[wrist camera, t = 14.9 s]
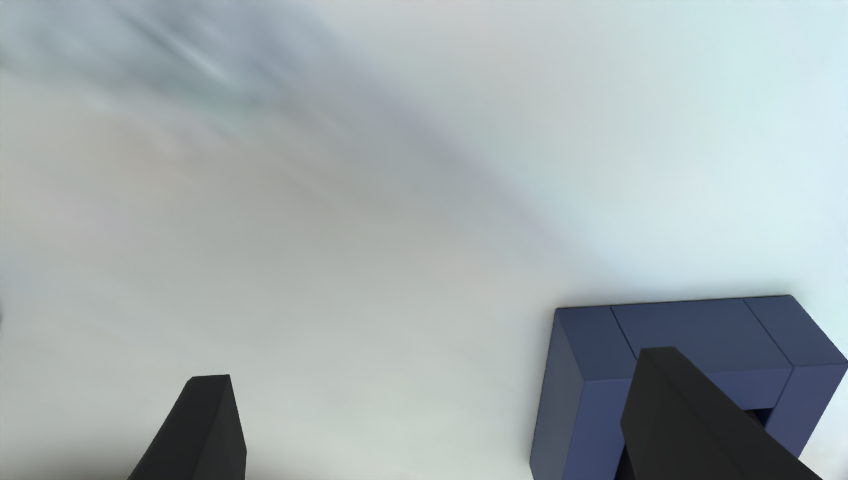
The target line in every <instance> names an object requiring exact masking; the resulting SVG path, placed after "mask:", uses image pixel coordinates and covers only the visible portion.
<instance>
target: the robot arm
mask: <svg viewBox="0 0 848 480" xmlns="http://www.w3.org/2000/svg"><path fill="white" fill-rule="evenodd" d="M620 426H621V430H622V433H623V437H624V440H625V444H626V447H627V451H628V454H629V458H630V461H631V464H632V467H633V470H634V474H635V477H636V479H637V480H823V479H822V478H820V477H819V476H818V475H817V474H815V473H814V472H813V471H812V470H811V469H809V468H808V467H807V466H806V465H804V464H803V463H802V462H801V461H800V460H798V459H797V458H796V457H795V456H794V455H793V454H791V453H790V452H789V451H788V450H787V449H786V448H784V447H783V446H782V445H781V444H780V443H779V442H777V441H776V440H775V439H774V438H773V437H772V436H771V435H769V434H768V433H767V432H766V431H765V430H764V429H763V428H762V427H761V426H759V425H758V424H757V423H756V422H755V421H754V420H753V419H752V418H751V417H749V416H748V415H747V414H746V413H745V412H744V411H743V410H742V409H741V408H740V407H739V406H738V405H736V404H735V403H734V402H733V401H732V400H731V399H730V398H729V397H728V396H727V395H726V394H725V393H724V392H723V391H721V390H720V389H719V388H718V387H717V386H716V385H715V384H714V383H713V382H712V381H711V380H710V379H709V378H708V377H707V376H706V375H705V374H703V373H702V372H701V371H700V370H699V369H698V368H697V367H696V366H695V365H694V364H693V363H692V362H691V361H690V360H689V359H688V358H687V357H685V356H684V355H683V354H682V353H681V352H680V351H679V350H678V349H677V348H676V347H675V346H665V347H649V348H641V350H640V354H639V357H638V361H637V364H636V368H635V371H634V375H633V378H632V382H631V385H630V389H629V392H628V396H627V399H626V403H625V406H624V410H623V413H622V417H621V420H620ZM246 455H247V450H246V445H245V441H244V437H243V432H242V428H241V423H240V419H239V414H238V410H237V406H236V401H235V397H234V392H233V388H232V383H231V379H230V375H229V374H226V375H211V376H195V377H192V378H191V379H190V380H188V381H187V383H186V385H185V386H184V388H183V390H182V392H181V394H180V395H179V397H178V399H177V401H176V402H175V404H174V406H173V408H172V409H171V411H170V413H169V415H168V416H167V418H166V420H165V421H164V423H163V425H162V426H161V428H160V430H159V431H158V433H157V435H156V436H155V438H154V439H153V441H152V443H151V444H150V446H149V447H148V449H147V451H146V452H145V454H144V455H143V457H142V458H141V460H140V461H139V463H138V464H137V466H136V467H135V469H134V470H133V472H132V473H131V475H130V476H129V478H128V479H127V480H245V468H246Z"/></svg>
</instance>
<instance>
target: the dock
mask: <svg viewBox="0 0 848 480" xmlns="http://www.w3.org/2000/svg"><path fill="white" fill-rule="evenodd" d="M665 346H675V347H676V348H677V349H678V350H679V351H680V352H681V353H682V354H683V355H684V356H685V357H687V358H688V359H689V360H690V361H691V362H692V363H693V364H694V365H695V366H696V367H697V368H698V369H699V370H700V371H701V372H702V373H703V374H705V375H706V376H707V377H708V378H709V379H710V380H711V381H712V382H713V383H714V384H715V385H716V386H717V387H718V388H719V389H720V390H721V391H723V392H724V393H725V394H726V395H727V396H728V397H729V398H730V399H731V400H732V401H733V402H734V403H735V404H736V405H738V406H739V407H740V408H741V409H742V410H748V409H752V411H753V412H754V414H755V415H756V417H757V418H758V420H759V421H760V423H761V425H762V426H763V428H764V429H765V431H766V432H767V433H768V434H769V435H771V436H772V437H773V438H774V439H775V440H776V441H777V442H779V443H780V444H781V445H782V446H783V447H784V448H786V449H787V450H788V451H789V452H790V453H791V454H793V455H794V456H795V457H796V458H797V459H798V458H799V456H800V454H801V452H802V450H803V449H804V447H805V445H806V443H807V441H808V440H809V438H810V436H811V434H812V432H813V431H814V429H815V427H816V425H817V423H818V421H819V420H820V418H821V416H822V414H823V412H824V411H825V409H826V407H827V405H828V403H829V402H830V400H831V398H832V396H833V394H834V392H835V391H836V389H837V387H838V385H839V383H840V382H841V380H842V378H843V376H844V374H845V373H846V371H847V369H848V360H847V359H846V358H845V357H844V355H843V354H842V353H841V352H840V351H839V350H838V348H837V347H836V346H835V345H834V344H833V343H832V341H831V340H830V339H829V338H828V337H827V336H826V334H825V333H824V332H823V331H822V330H821V329H820V327H819V326H818V325H817V324H816V323H815V322H814V320H813V319H812V318H811V317H810V316H809V315H808V313H807V312H806V311H805V310H804V309H803V308H802V306H801V305H800V304H799V303H798V302H797V301H796V299H795V298H794V297H793V296H777V297H760V298H744V299H722V300H705V301H687V302H670V303H653V304H635V305H618V306H610V307H608V306H603V307H585V308H568V309H557V310H556V313H555V319H554V325H553V331H552V337H551V342H550V348H549V354H548V360H547V365H546V371H545V377H544V383H543V389H542V394H541V400H540V406H539V412H538V417H537V423H536V429H535V435H534V441H533V446H532V452H531V458H530V468H531V471H532V475H533V479H534V480H619V479H618V477H617V474H616V471H617V468H618V464H619V461H620V458H621V454H622V451H623V448H624V444H625V440H624V437H623V433H622V430H621V426H620V420H621V417H622V413H623V410H624V406H625V403H626V399H627V396H628V392H629V389H630V385H631V382H632V378H633V375H634V371H635V368H636V364H637V361H638V357H639V354H640V350H641V348H649V347H665Z"/></svg>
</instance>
